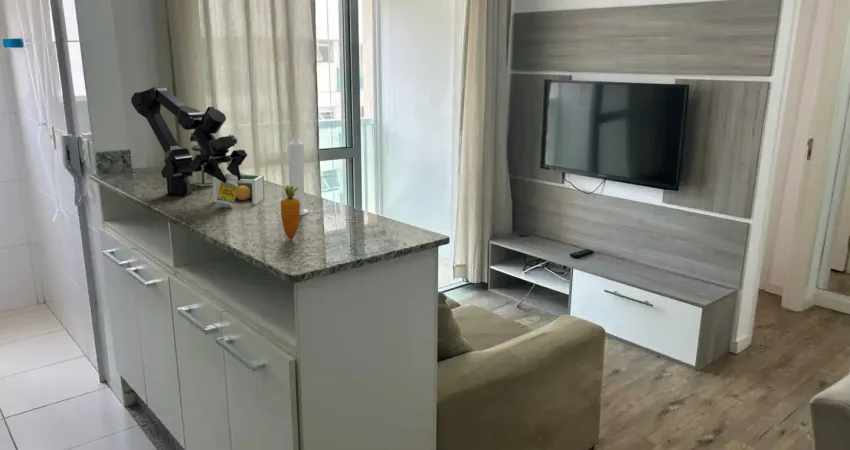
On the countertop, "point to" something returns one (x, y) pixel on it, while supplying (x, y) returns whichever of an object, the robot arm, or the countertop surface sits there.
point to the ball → (243, 192)
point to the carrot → (290, 212)
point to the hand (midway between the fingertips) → (232, 180)
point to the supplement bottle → (228, 191)
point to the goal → (250, 181)
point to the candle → (297, 171)
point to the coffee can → (201, 177)
